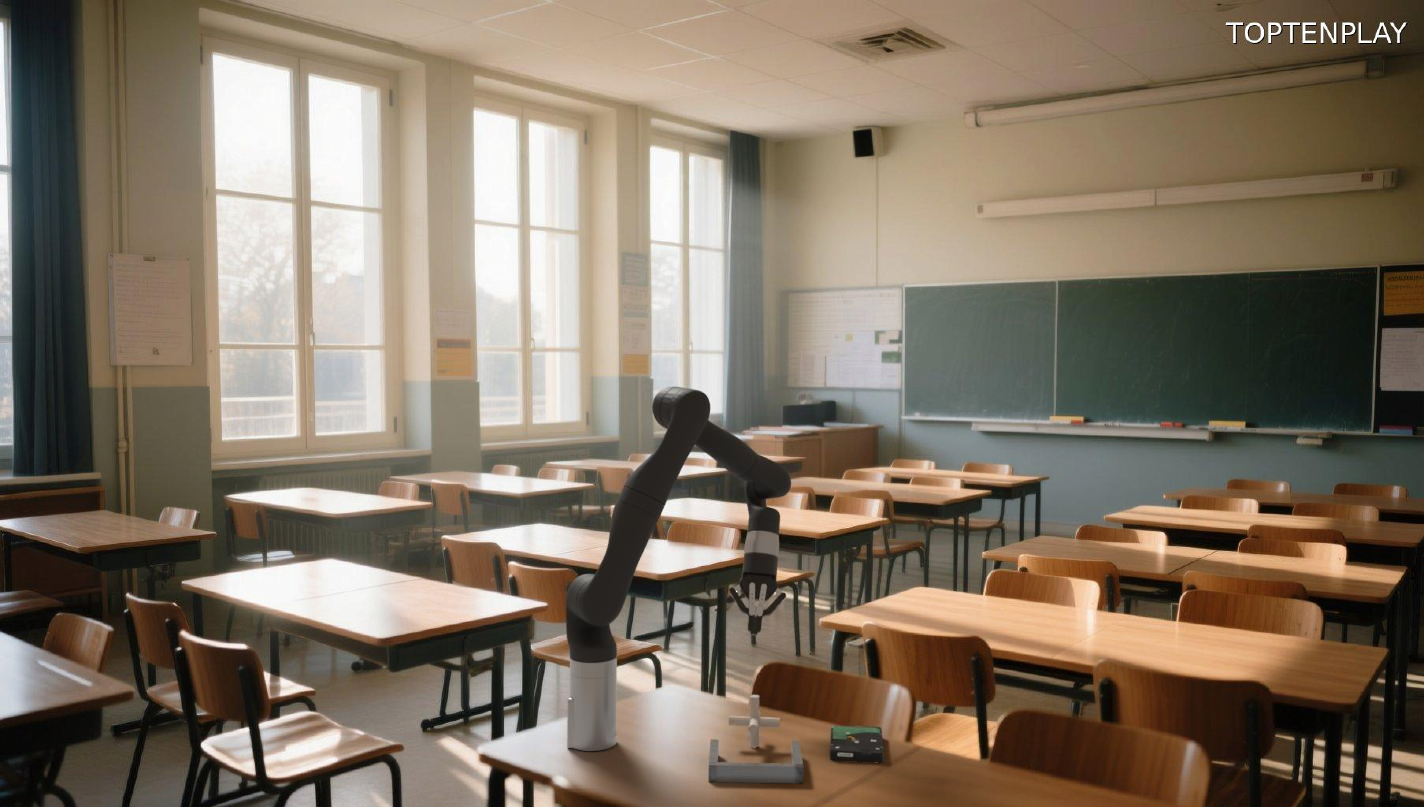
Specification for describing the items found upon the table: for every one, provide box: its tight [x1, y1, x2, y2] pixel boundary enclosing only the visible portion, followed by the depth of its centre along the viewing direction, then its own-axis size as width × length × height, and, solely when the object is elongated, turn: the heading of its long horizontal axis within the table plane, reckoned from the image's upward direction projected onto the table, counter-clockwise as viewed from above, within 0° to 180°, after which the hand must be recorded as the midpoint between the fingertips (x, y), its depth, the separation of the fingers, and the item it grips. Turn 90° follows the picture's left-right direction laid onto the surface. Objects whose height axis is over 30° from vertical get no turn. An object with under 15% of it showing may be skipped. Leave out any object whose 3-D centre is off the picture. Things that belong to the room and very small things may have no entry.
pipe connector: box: [728, 694, 781, 748], centre depth 200 cm, size 10×10×10 cm
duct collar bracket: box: [707, 739, 805, 784], centre depth 188 cm, size 17×14×3 cm
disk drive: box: [829, 724, 885, 764], centre depth 199 cm, size 10×3×15 cm
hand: (754, 634), depth 216 cm, fingers closed
